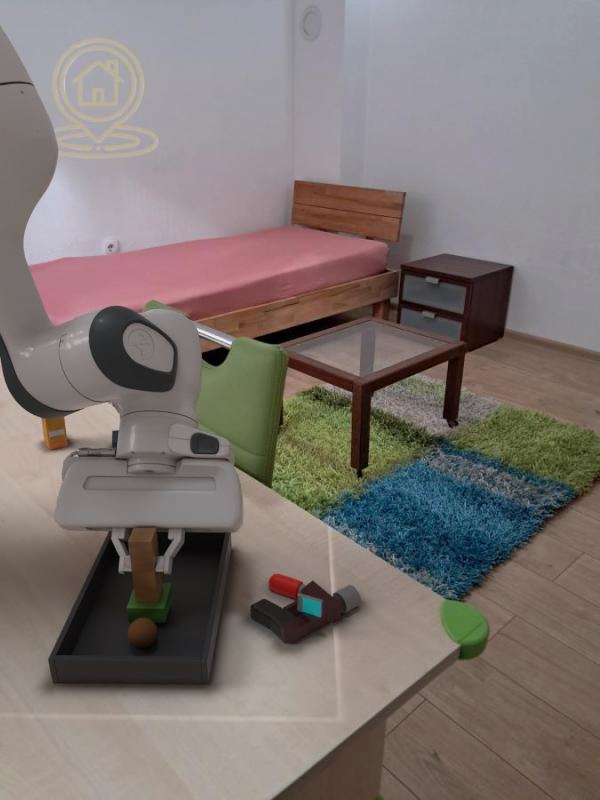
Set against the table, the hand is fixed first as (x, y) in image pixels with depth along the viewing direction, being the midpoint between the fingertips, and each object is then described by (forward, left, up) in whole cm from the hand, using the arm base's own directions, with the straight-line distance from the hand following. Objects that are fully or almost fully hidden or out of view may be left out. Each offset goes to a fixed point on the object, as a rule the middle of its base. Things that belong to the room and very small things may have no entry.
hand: (145, 574), depth 67 cm
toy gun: (+17, +3, -7) cm, 18 cm away
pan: (0, +2, -7) cm, 7 cm away
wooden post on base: (0, +1, -5) cm, 5 cm away
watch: (-12, +39, -7) cm, 41 cm away
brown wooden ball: (0, -4, -5) cm, 6 cm away
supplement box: (-25, +41, -7) cm, 49 cm away
